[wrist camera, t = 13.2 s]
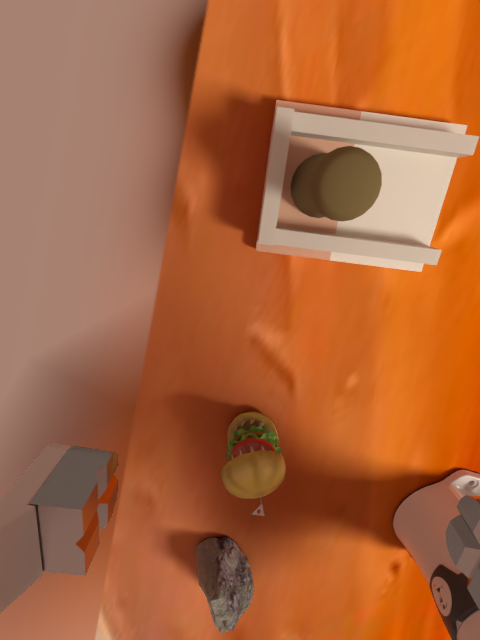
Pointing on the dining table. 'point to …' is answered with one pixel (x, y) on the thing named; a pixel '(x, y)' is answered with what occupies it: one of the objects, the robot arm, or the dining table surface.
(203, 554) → the mineral rock
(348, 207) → the cork
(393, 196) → the white tray
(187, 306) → the dining table surface
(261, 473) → the hamburger
